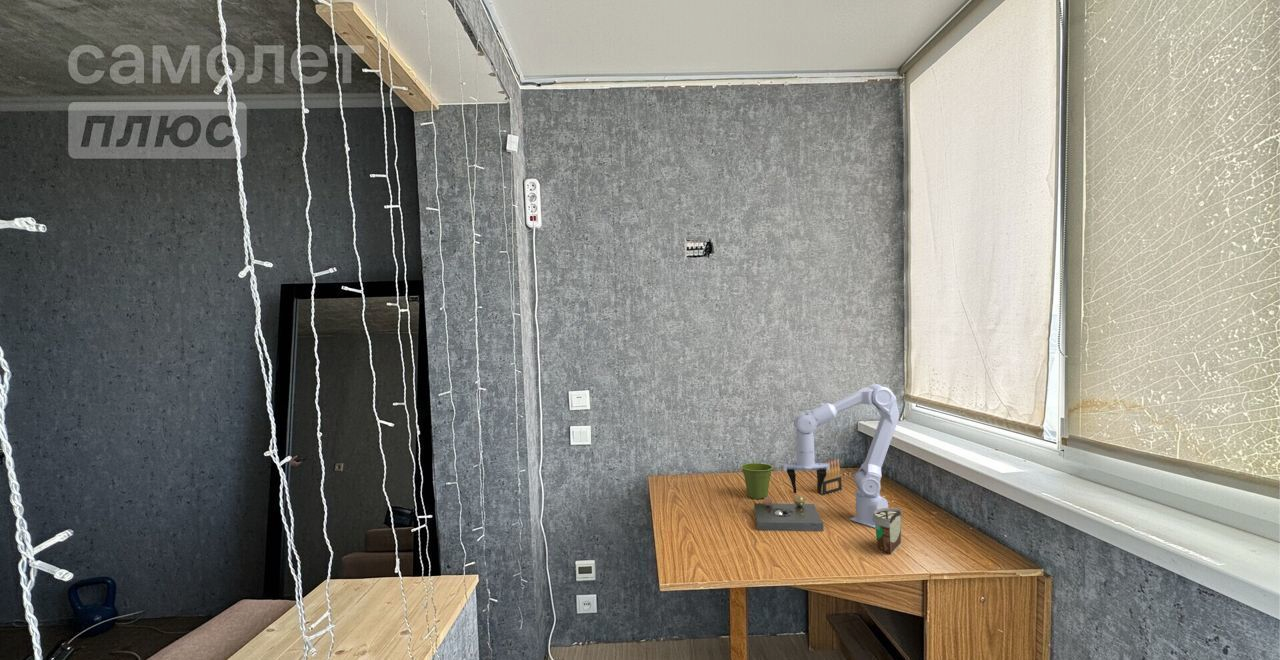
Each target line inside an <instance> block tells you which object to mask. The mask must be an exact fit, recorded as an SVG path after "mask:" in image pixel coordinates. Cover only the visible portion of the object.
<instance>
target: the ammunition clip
mask: <svg viewBox="0 0 1280 660" xmlns="http://www.w3.org/2000/svg"><path fill="white" fill-rule="evenodd" d="M821 463H823V462H821ZM824 463H828V464H829V468H830V471H826V472H827V474H826V477H825V479H824V481H823V484H822V487H821V493H819V494H820V495H821V494H822V496H826V495H825V494H827V495H830V494H833V493H835V492H836V491H837V492H840V491H842V490H843V488H842V476H841V468H840V461H839V458H836V459H833V460H832V459H831V460H830V461H829V460H827V461H824ZM839 490H840V491H839ZM832 492H833V493H832ZM829 493H830V494H829Z"/></svg>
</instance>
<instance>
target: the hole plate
mask: <svg viewBox="0 0 1280 660" xmlns="http://www.w3.org/2000/svg"><path fill="white" fill-rule="evenodd" d="M753 506H754V507H753V509H754V510H753V511H754V516H755V521H756V527H757V531H764V532H765V531H769V532H771V531H772V532H773V531H779V532H780V531H781V532H783V531H784V532H824V531H825V529H824V528H825V527H824V522H823V520H822V517H821V516H820V514H819V511H818V510H817V508H816V506H815V504H814V503H804V505H803V506H797V505H796V504H795V503H772V504H771V505H770V506H766V505H765V504H764V502H763V503H762V502H761V503H758V502H757V503H753ZM777 510H780V511H782V512H783V514H784V515H777V514H774V513H775V511H777Z"/></svg>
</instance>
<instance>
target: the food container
mask: <svg viewBox="0 0 1280 660" xmlns="http://www.w3.org/2000/svg"><path fill="white" fill-rule="evenodd" d="M902 515H903V512H902V508H898V507H897V508H896V507H888V508H881V509H878V510H876V511H875V512H874V514H873V518H872V520H873V522H874V523H875V528H874V529H875V537H876V545H877V549H878V550H879V551H880V552H881V553H885V554H888V555H890V556H891V555H893V554H894V552H895V551H897V549H898V548H900V546H901V545H902Z"/></svg>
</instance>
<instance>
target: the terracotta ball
mask: <svg viewBox="0 0 1280 660" xmlns="http://www.w3.org/2000/svg"><path fill="white" fill-rule="evenodd" d="M762 502H763V503H764V504H765V505H766V506H770V505H771V504H773V499H772V498H771V497H770V496H767V497H765V498H763V501H762Z"/></svg>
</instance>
